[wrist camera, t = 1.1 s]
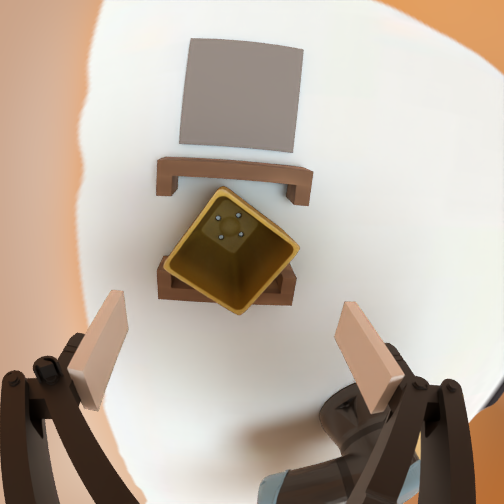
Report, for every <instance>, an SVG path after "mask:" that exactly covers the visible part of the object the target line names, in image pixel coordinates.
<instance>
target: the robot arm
mask: <svg viewBox="0 0 504 504" xmlns="http://www.w3.org/2000/svg"><path fill="white" fill-rule="evenodd" d="M127 332H128V322H127V315H126V308H125V300H124V292H123V291H117V290H111V291H110V293H109V295H108V296H107V298H106V300H105V301H104V303H103V305H102V306H101V308H100V310H99V311H98V313H97V315H96V316H95V318H94V320H93V322H92V323H91V325H90V327H89V329H88V330H87V332H86V334H82V333H76V334H75V335H73V336H72V337H71V338H70V339H69V341H68V343H67V345H66V346H65V348H64V349H63V352H62V353H61V355H60V356H59V358H58V360H57V359H56V358H54V357H53V356H44V357H41V358H39V359H37V360H36V361H35V362H34V365H33V371H34V373H35V375H36V377H37V378H28V379H27V378H25V376H24V374H23V373H22V372H20V371H15V370H14V371H10V372H8V373H7V374H6V375H5V376H4V377H3V380H2V389H1V403H0V456H1V471H2V481H3V489H4V496H5V503H6V504H60V502H59V498H58V495H57V490H56V486H55V481H54V477H53V472H52V467H51V461H50V455H49V449H48V442H47V434H46V426H45V419H52V420H53V422H54V424H55V427H56V429H57V431H58V434H59V436H60V438H61V440H62V443H63V445H64V447H65V449H66V451H67V453H68V455H69V457H70V459H71V461H72V463H73V465H74V467H75V469H76V471H77V473H78V475H79V476H80V478H81V480H82V482H83V483H84V485H85V487H86V489H87V490H88V492H89V494H90V495H91V497H92V498H93V500H94V502H95V503H96V504H139V502H138V501H137V500H136V498H135V497H134V496H133V495H132V493H131V492H130V490H129V489H128V488H127V486H126V485H125V484H124V482H123V481H122V479H121V478H120V477H119V475H118V474H117V472H116V471H115V469H114V468H113V466H112V465H111V463H110V462H109V460H108V458H107V457H106V455H105V454H104V452H103V450H102V449H101V447H100V445H99V444H98V442H97V440H96V439H95V437H94V435H93V433H92V432H91V430H90V428H89V426H88V424H87V423H86V421H85V419H84V417H83V415H82V413H81V411H80V409H79V404H80V402H81V403H82V405H83V407H84V408H85V409H89V410H94V411H99V407H100V405H101V402H102V399H103V396H104V393H105V390H106V387H107V384H108V382H109V379H110V376H111V373H112V371H113V368H114V365H115V363H116V360H117V357H118V355H119V352H120V350H121V347H122V344H123V342H124V339H125V337H126V334H127ZM334 338H335V340H336V342H337V344H338V346H339V348H340V350H341V352H342V354H343V356H344V358H345V360H346V362H347V364H348V366H349V369H350V371H351V373H352V375H353V377H354V379H355V381H356V383H355V384H353V385H351V386H348V387H346V388H344V389H343V390H341V391H339V392H338V393H336V394H335V395H334V396H333V397H331V398H330V399H329V400H328V401H327V402H326V403H325V405H324V406H323V407H322V409H321V411H320V421H321V424H322V427H323V429H324V431H325V432H326V433H327V434H328V436H329V437H330V438H331V439H332V440H333V442H334V443H335V444H336V445H337V446H338V447H339V449H340V451H341V455H342V457H339V458H336V459H332V460H329V461H326V462H322V463H319V464H315V465H311V466H307V467H303V468H299V469H294V470H286V471H285V472H281V473H277V474H273V475H269V476H267V477H265V478H264V479H263V480H262V482H261V484H260V487H259V491H258V499H257V504H403V503H404V502H406V501H407V500H409V499H410V498H411V497H413V496H414V495H415V494H417V493H418V492H419V498H418V504H476V491H475V474H474V462H473V452H472V444H471V437H470V430H469V424H468V418H467V412H466V407H465V402H464V397H463V393H462V388H461V386H460V384H459V383H458V382H456V381H455V380H452V379H445V380H444V381H443V382H442V383H441V385H440V386H437V385H429V383H428V382H427V381H426V380H425V379H423V378H422V377H418V376H415V375H414V374H413V372H412V371H411V369H410V368H409V366H408V365H407V364H406V362H405V361H404V360H403V358H402V356H400V353H399V352H398V350H397V349H396V348H395V347H394V346H393V345H391V344H390V343H384V342H383V341H382V339H381V338H380V336H379V335H378V333H377V332H376V330H375V329H374V327H373V326H372V324H371V323H370V322H369V320H368V319H367V317H366V316H365V314H364V313H363V311H362V310H361V309H360V307H359V306H358V304H357V303H356V302H344V306H343V309H342V313H341V316H340V320H339V323H338V326H337V329H336V333H335V336H334ZM420 431H421V460H420V459H419V457H418V455H417V453H416V451H415V449H416V445H417V442H418V438H419V435H420Z"/></svg>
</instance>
